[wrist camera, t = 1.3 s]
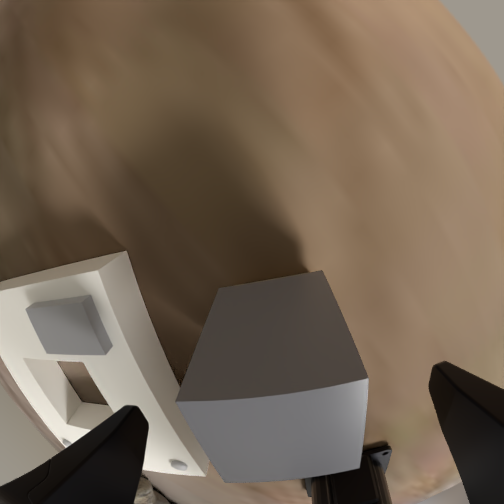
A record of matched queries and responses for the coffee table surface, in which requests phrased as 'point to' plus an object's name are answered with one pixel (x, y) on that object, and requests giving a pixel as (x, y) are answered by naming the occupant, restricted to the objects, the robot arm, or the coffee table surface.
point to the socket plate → (95, 356)
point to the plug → (276, 383)
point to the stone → (148, 494)
